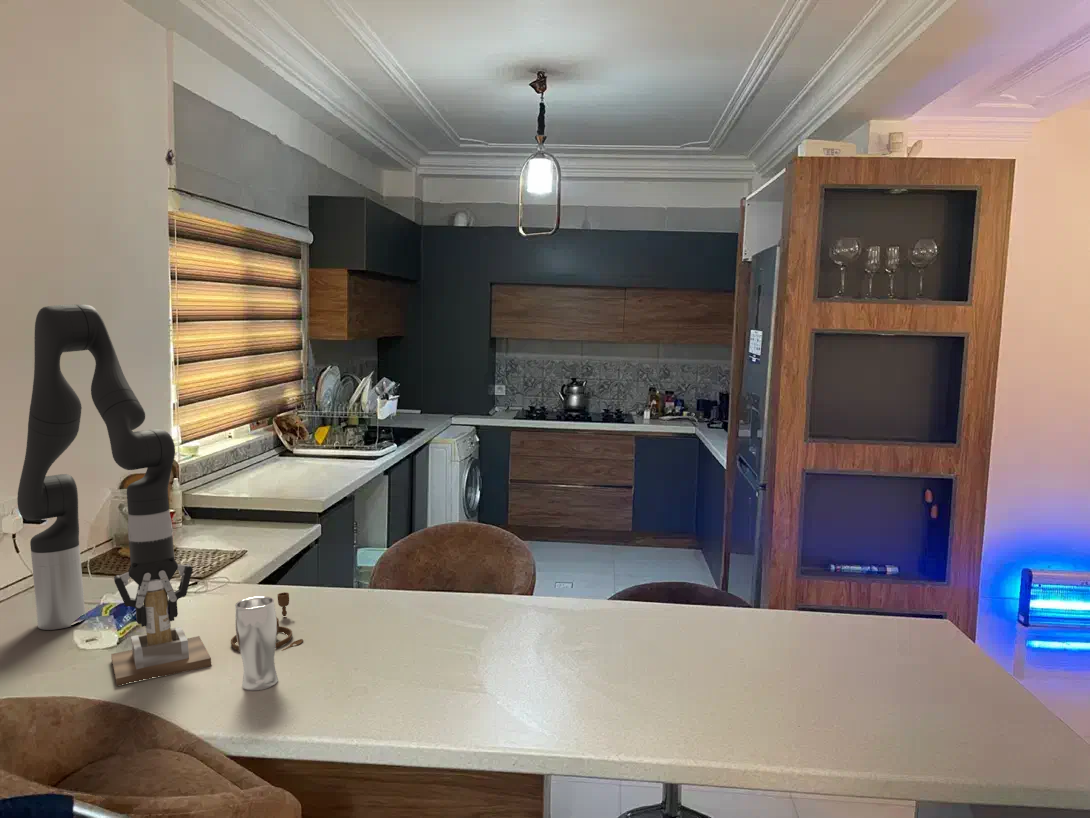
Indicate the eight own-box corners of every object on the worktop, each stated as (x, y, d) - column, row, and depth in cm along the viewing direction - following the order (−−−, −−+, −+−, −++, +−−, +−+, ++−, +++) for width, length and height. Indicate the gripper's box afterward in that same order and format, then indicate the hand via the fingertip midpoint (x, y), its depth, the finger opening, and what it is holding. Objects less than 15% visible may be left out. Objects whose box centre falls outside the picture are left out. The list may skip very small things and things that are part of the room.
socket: (111, 661, 159) (109, 636, 158) (199, 643, 167) (198, 619, 166) (116, 686, 147) (114, 659, 146) (211, 665, 155) (209, 640, 155)
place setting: (208, 647, 166) (206, 619, 166) (283, 616, 183) (281, 591, 183) (269, 662, 158) (267, 632, 157) (341, 628, 175) (340, 601, 174)
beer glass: (242, 695, 141) (236, 611, 140) (237, 680, 148) (231, 600, 146) (283, 686, 145) (278, 604, 143) (277, 672, 151) (271, 593, 149)
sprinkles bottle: (174, 646, 156) (168, 578, 155) (148, 652, 154) (142, 583, 152) (170, 639, 160) (164, 572, 159) (145, 645, 157) (138, 577, 156)
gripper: (188, 525, 161) (194, 609, 163) (107, 537, 154) (114, 624, 156) (194, 533, 155) (200, 620, 157) (109, 545, 148) (117, 636, 149)
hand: (157, 622), depth 156 cm, fingers closed on sprinkles bottle, 4 cm apart
